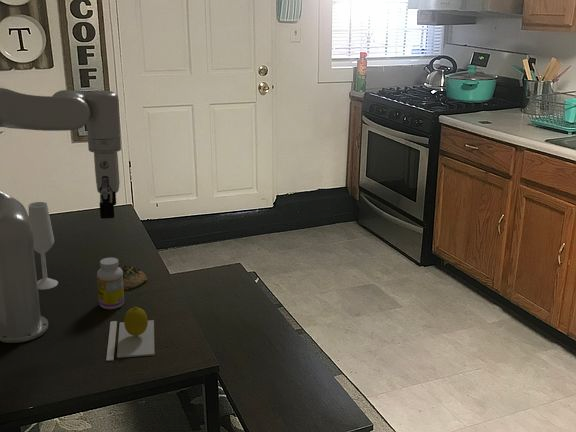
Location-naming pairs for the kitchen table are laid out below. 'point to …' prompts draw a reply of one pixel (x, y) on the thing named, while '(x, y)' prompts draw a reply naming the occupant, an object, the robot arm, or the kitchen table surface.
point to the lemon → (135, 321)
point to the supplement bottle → (110, 284)
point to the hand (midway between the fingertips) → (108, 211)
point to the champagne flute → (42, 238)
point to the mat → (136, 342)
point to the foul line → (111, 341)
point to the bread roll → (132, 277)
